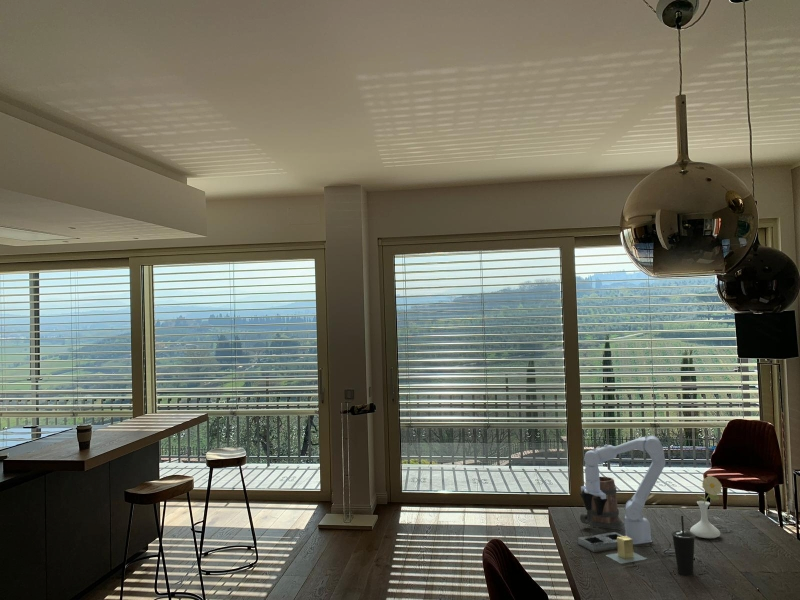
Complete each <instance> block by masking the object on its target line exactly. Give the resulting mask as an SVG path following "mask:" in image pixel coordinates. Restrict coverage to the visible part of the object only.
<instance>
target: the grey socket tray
mask: <svg viewBox="0 0 800 600" xmlns="http://www.w3.org/2000/svg"><path fill="white" fill-rule="evenodd" d="M622 536H624V535H623V534H620V533H618V532H616V531H613V532H611V531H610V532H605V533H598V534H591V535H585V536H579V537H577V544H578V545H580V546H582V547H583V548H584V549H586V550H589V551H590V552H593V553H597V552H599V553H600V552H603V551H609V550H615V549H618V548H617V537H622Z"/></svg>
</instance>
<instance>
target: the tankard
mask: <svg viewBox="0 0 800 600" xmlns="http://www.w3.org/2000/svg"><path fill="white" fill-rule="evenodd" d="M599 478H600V490H601V491H602V492H603V493H604V494H606V498H607V501H606V503H605V506H604V509H603V514H602V515H597V511H596V505H595V502H594V500H593V498H597V496H594V495H593V496H592V505H591V510H586V513H581V514H580V516H579V520H580V522H581V524H584V525H587V524H588V525H590V526H589V527H591V526H593V527H592V528H605V529H611V530H618V529H622V528H623V527H625V522H623V521H622V519H621V518H619V517H620V515H619V514H620V511H619V508H618V498H617V497H618V496H617V491H618V490H617V487H616V484H615V479H614V478H613V477H609V476H599ZM588 525H587V526H588Z"/></svg>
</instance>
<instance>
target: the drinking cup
mask: <svg viewBox="0 0 800 600" xmlns="http://www.w3.org/2000/svg"><path fill="white" fill-rule="evenodd" d="M680 519H681V529H676V530H673V531H672V532H671V536H672V541H673V549H674V554H675V560H676V568H677V573H678V574H679V575H681V576H684V577H685V576H686V577H687V576H688V577H690V576H693V575H694V562H695V561H694V560H695V538H696V535H695V534H693V533H691V532H690V530H685V525H684V515H681V516H680Z"/></svg>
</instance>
